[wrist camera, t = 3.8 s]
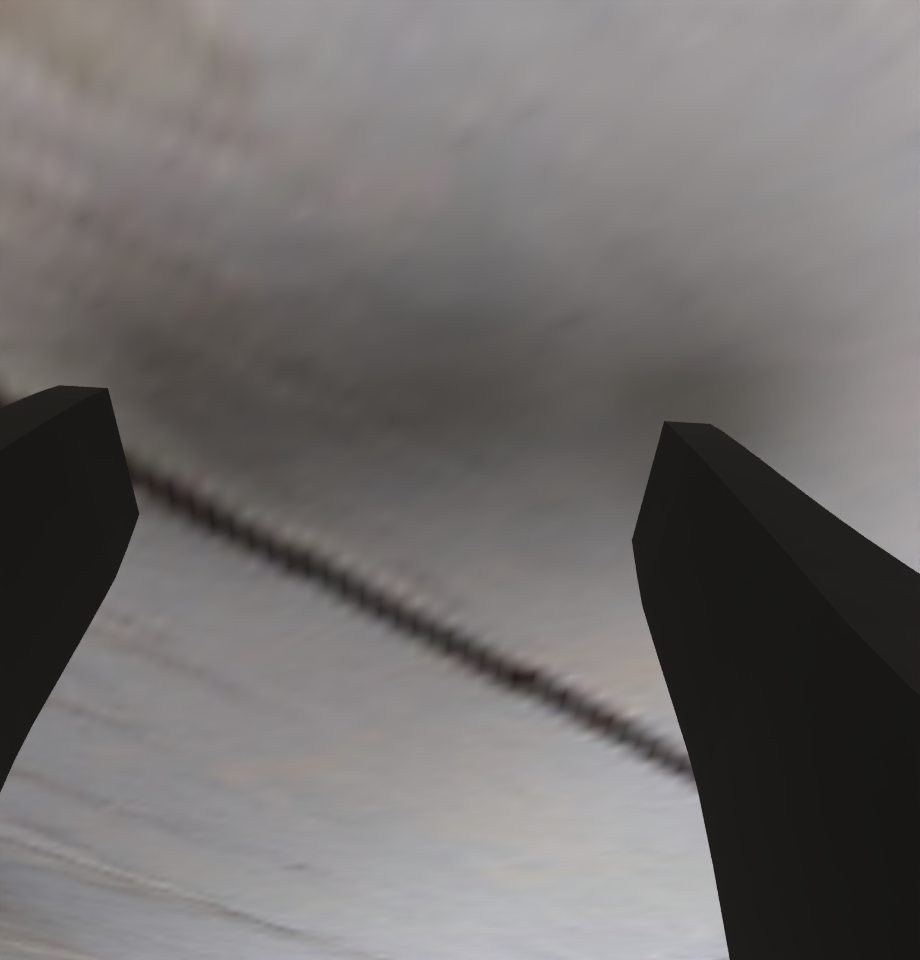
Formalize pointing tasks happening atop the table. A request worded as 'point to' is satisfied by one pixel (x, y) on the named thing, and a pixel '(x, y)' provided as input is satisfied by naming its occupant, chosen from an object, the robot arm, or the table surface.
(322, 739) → the table surface
